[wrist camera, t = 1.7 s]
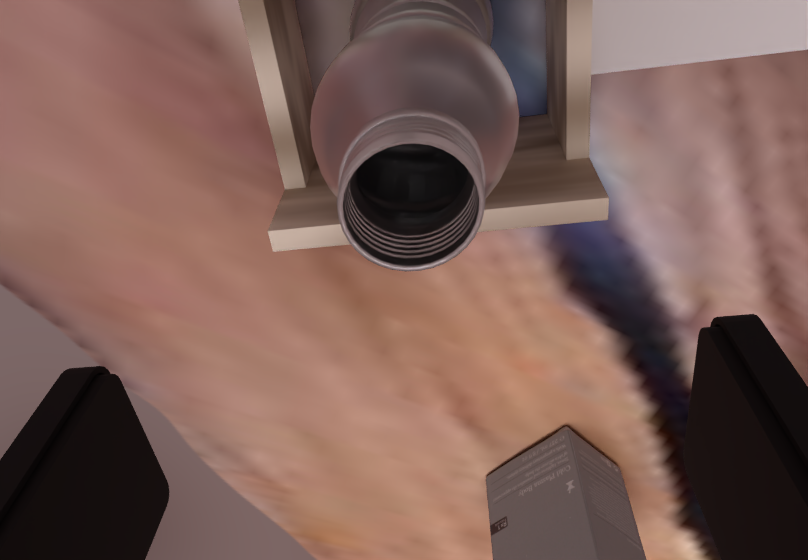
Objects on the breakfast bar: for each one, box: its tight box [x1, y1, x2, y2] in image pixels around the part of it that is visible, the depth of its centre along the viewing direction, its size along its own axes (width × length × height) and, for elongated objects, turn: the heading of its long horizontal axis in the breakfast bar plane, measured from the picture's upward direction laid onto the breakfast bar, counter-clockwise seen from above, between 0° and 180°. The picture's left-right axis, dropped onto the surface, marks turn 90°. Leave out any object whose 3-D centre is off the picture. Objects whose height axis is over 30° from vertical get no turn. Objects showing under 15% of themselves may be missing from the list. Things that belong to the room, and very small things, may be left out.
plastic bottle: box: [310, 0, 519, 271], centre depth 25 cm, size 6×7×20 cm
